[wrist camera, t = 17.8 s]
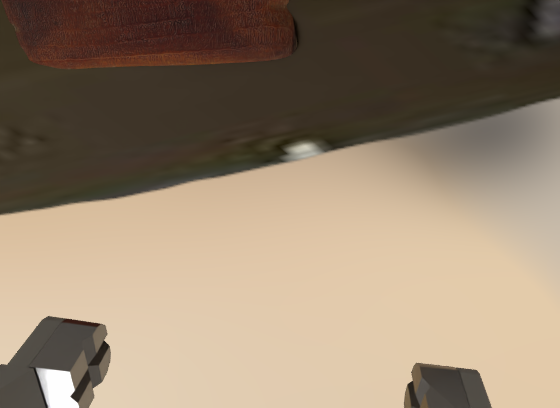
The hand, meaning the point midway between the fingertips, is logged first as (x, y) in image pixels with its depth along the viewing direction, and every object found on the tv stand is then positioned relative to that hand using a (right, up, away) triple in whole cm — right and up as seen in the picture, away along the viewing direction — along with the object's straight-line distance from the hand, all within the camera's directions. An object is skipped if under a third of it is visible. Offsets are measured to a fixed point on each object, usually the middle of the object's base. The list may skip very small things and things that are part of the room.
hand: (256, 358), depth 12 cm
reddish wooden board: (-11, +22, +28) cm, 37 cm away
